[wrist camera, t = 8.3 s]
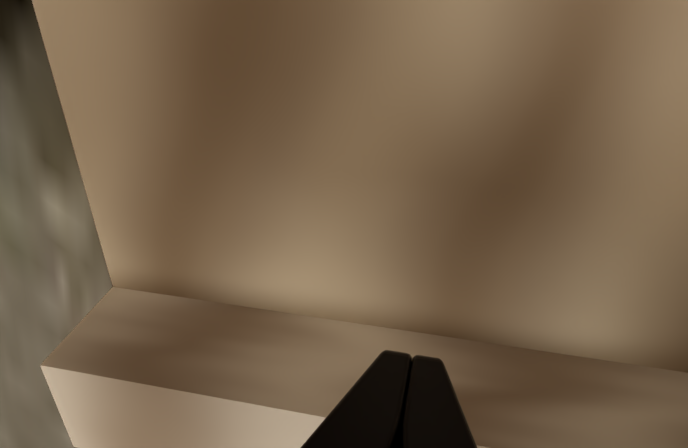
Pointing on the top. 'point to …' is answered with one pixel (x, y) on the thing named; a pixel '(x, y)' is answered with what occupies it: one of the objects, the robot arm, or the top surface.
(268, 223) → the wooden base tray
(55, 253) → the top surface
